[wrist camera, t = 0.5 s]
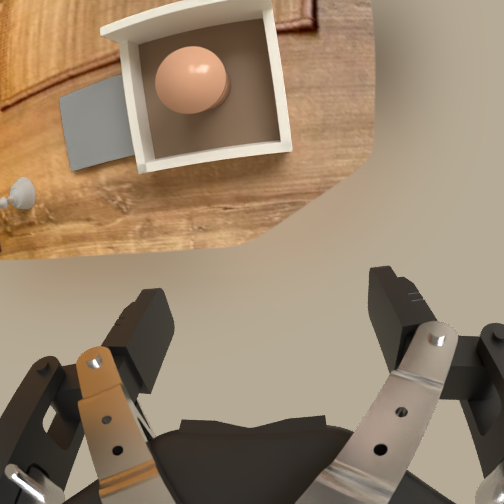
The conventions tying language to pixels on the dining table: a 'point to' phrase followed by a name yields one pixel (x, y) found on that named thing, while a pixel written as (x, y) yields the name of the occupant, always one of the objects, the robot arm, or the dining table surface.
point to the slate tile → (96, 124)
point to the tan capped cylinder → (192, 81)
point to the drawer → (237, 66)
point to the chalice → (20, 195)
